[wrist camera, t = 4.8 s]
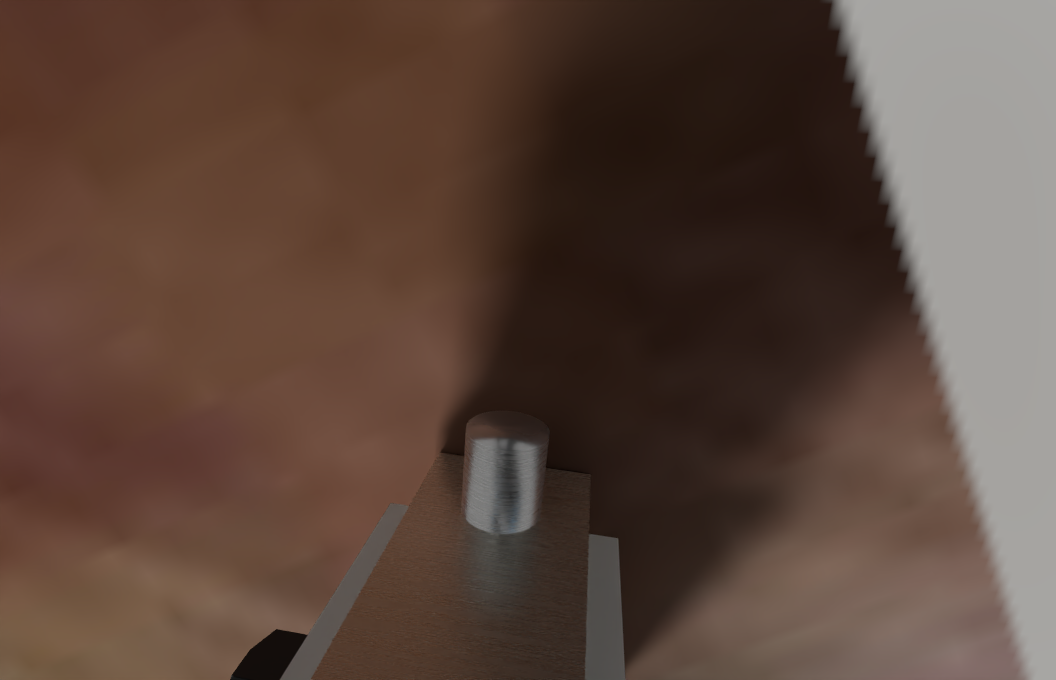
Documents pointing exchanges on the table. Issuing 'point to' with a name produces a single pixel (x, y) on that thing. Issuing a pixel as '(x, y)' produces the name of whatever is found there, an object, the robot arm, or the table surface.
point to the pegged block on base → (478, 570)
